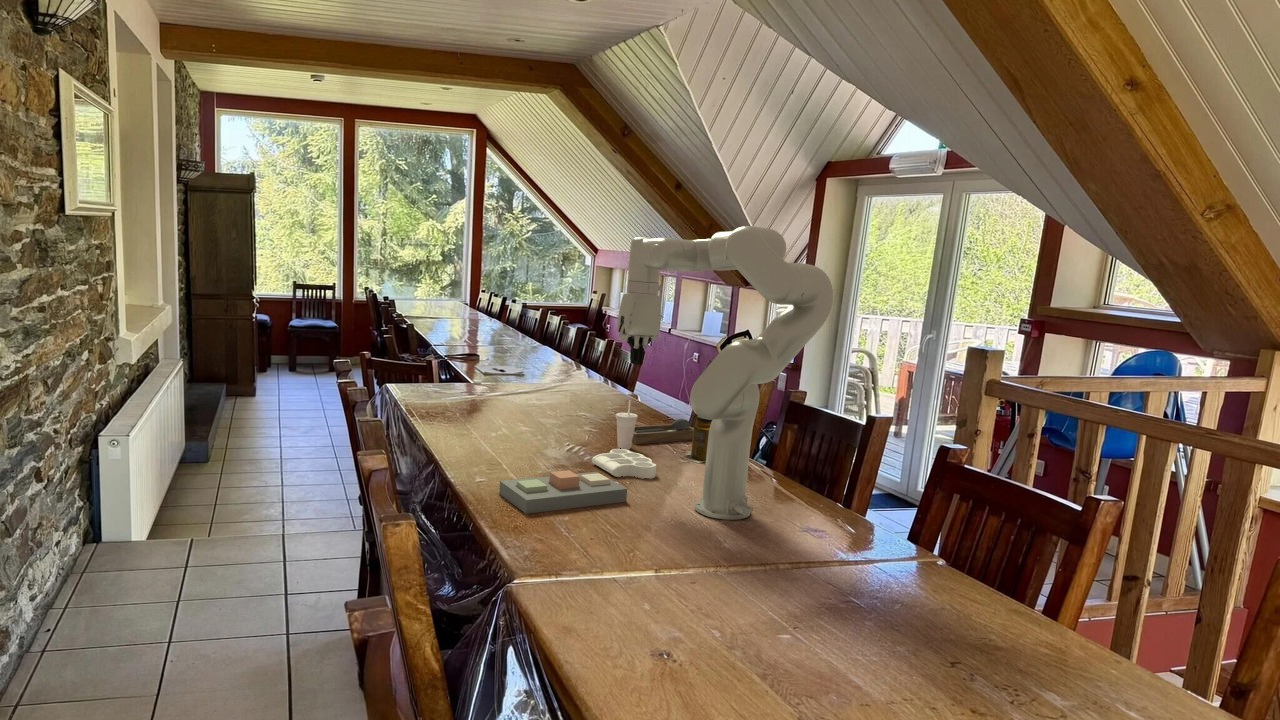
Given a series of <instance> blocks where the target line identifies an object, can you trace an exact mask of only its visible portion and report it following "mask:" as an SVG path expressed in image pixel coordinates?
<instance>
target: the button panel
mask: <svg viewBox="0 0 1280 720" xmlns="http://www.w3.org/2000/svg"><path fill="white" fill-rule="evenodd" d="M596 473H599V472H598V471H591V472H581V473H579V472H578V473H576V474H577V475H578V476H580V475H586V474H596ZM600 474H601V473H600ZM601 475H603V474H601ZM549 477H550V475H549V476H540V477H539V476H538V477H527V478H514V479H507V480H500V481H499V492H498V494H499V495H500V496H501V497H502V498H503V499H506V501H508V502H510V503H511V504H512V505H513V506H515V507H516V508H517V509H518V510H520V511H522V512H523V513H524V514H526V515H528V514H536V513H542V512H543V513H544V512H545V513H546V512H551V511H553V512H554V511H560V510H569V509H577V508H585V507H592V506H594V507H595V506H600V505H608V504H609V505H610V504H616V503H617V504H618V503H627V497H628V488H627V487H625V486H623V485H621V484H619V483H618V482H616V481H614V480H612V479H610V478H609V479H610V484H608V485H599V486H589V485H587V484H585V483H584V482H582V481H580V482H579V488H570V489H561V490H558V489H557V488H555V487H554V486H552V485H551V484H549ZM534 479H538V480H539V481H541V482H543V483H544V484H546V485H547V491H542V492H533V493H524V492H523V491H522V490H520V489H519V488H517V481H524V480H534Z"/></svg>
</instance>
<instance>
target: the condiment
mask: <svg viewBox="0 0 1280 720" xmlns="http://www.w3.org/2000/svg"><path fill="white" fill-rule="evenodd" d="M711 422H712V420H707V419H703V418H701V417H699V416H698V415H696V417H695V423H694V425H693V428H694V430H693V440H691V441H692V442H691V451H690V452H691V453H690V454H686V455H680V456H679V457H680V458H682V459H685V460H688V461H690V462H693V463H697V464H701V463H706V454H707V444H708V435H709V430H710V426H711Z"/></svg>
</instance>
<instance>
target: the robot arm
mask: <svg viewBox="0 0 1280 720" xmlns="http://www.w3.org/2000/svg"><path fill="white" fill-rule="evenodd" d="M785 240H786V239H785V238H784V236H783V235H782V234H781V233H780V232H778V231H776V230H775V229H772V228H768V227H761V226H754V225H744V226H740V227H737V228H736V229H734V230H728V231H717V232H715V233H714V234H713V235H712V236H711V237H710V238H706V239H703V238H702V239H684V238H683V239H681V238H671V237H656V238H655V237H654V238H653V237H647V236H645V237H644V236H635V237H633V238H632V239H631V242H630V249H629V251H630V252H629V261H628V263H629V264H628V275H627V284H626V285H627V286H626V293H624V292H623V294H622V297H621V302H620V305H619V309H618V310H619V311H618V315H617V324H616V331H617V333H618V334H619V335H618V339H619V340H622V341H625V342H626V343H627V344H628V346H629V348H630V352H629V353H630V354H629V360H630V364H631V365H635V366H643V365H644V360H645V349H647V347H648V345H650V343H651V342H654V341H657V340H659V334H660V332H661V323H662V322H661V321H662V319H661V318H662V317H661V316H662V311H661V310H662V307H661V297H660V295H659V291H662V290H663V286H662V285H660V283H659V282H660V272H661V271H666V272H667V271H669V272H685V273H686V272H707V271H708V272H709V271H710V272H711V271H719V272H720V271H732V270H733V271H735V270H737V271H738V272H739V274H740V275H742V277H744V279H746V281H747V282H748V283H749V284H750V285H751V286H752V287H753V288H754V289H755V290H756V292H758V294H760V295H761V296H762V298H764V299H765V300H767V301H768V302H770V303H772V304H774V305H775V304H776V305H783V306H784V305H786V306H787V305H788V306H787V308H785V309H784V310H783V311H782V312H781V313H779V314H777V315H776V316H775V317H774V318H773V319H772V320H771V321H770V323H769V324H768V325H767V326H766V328H765V329H764V330H763V331H762V332H761V333H760V334H759V335H758V336H756V337H754V338H751V339H742V340H741V339H740V340H736V341H733V342H731V343H729V344H728V345H726V346H725V347H724V348H723V349H721V351H720V352H719V353H717V355H716V356H715V357H714V359H712V361H711V362H710V363H709V364H708V366H707V367H706V368H705V370H704V371H703V372H701V374H700V375H699V377H698V378H697V379H695V381H694V383H693V386H692V388H691V390H690V394H689V396H690V397H689V402H690V407H691V409H692V411H693V413H695V415H696V416H699V417H701V418H703V419H707V420H712V422H711V426H710V430H709V435H708V444H707V454H706V462H705V465H704V466H705V467H704V477H703V486H702V487H703V488H702V497H701V498H699V499H697V500H696V501H695V502H694V509H695V511H696V512H697V513H699V514H701V515H703V516H706V517H709V518H711V519H712V518H713V519H718V520H723V521H724V520H727V521H735V520H744V519H746V518H748V517H750V515H751V513H753V511H754V507H753V506H751V505H750V504H748V500H749V499H748V498H749V497H748V496H747V495H746V489H747V481H748V471H749V463H750V462H749V461H750V451H751V444H752V436H753V429H754V423H755V419H756V415H757V412H758V409H759V405H760V396H761V394H760V389H759V384H760V385H761V384H767V383H770V382H772V381H773V380H775V379H777V377H779V375H780V374H781V373H782V372H783V371H784V369H785V368H787V366H788V365H789V364H790V363H791V362H792V361H793V360H794V359H795V357H797V355H798V354H799V353H800V352H801V350H802V349H803V348H804V347H805V346H806V345H807V344H808V343H809V341H811V339H813V338H814V336H815V335H816V334H817V333H818V331H819V330H820V329H821V328H822V327H823V326H824V324H825V322H826V321H827V320H828V317H829V316H830V314H831V312H832V308H833V303H834V291H833V290H834V289H833V285H832V282H831V280H830V278H829V276H828V275H827V273H826V272H825V270H823V269H822V268H820V267H818V266H816V265H813V264H809V263H801V262H786V260H784V259H785V256H786V253H787V242H786V241H785Z"/></svg>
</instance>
